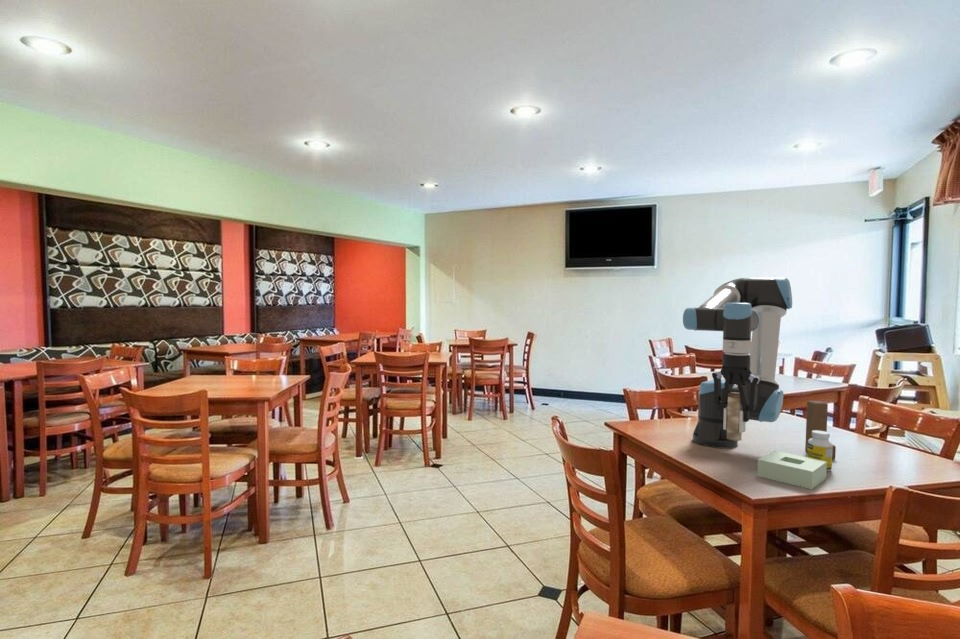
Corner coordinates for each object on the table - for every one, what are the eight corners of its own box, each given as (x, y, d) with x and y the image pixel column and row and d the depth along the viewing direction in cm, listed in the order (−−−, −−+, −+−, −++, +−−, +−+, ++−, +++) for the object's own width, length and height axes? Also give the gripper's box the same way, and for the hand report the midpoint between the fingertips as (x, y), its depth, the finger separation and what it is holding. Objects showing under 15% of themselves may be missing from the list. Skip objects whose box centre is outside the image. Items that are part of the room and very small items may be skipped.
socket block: (757, 475, 148) (758, 459, 148) (773, 466, 158) (774, 450, 157) (812, 489, 138) (812, 471, 138) (826, 478, 147) (826, 461, 147)
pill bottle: (802, 465, 159) (803, 429, 159) (822, 465, 159) (824, 429, 159) (815, 471, 153) (816, 434, 153) (836, 472, 153) (838, 435, 152)
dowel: (724, 438, 151) (725, 393, 150) (729, 436, 154) (730, 391, 153) (738, 441, 148) (739, 395, 147) (743, 439, 151) (745, 393, 150)
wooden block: (835, 459, 166) (837, 406, 165) (822, 459, 166) (824, 405, 165) (817, 451, 175) (819, 400, 174) (804, 451, 175) (806, 400, 174)
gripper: (702, 352, 153) (700, 426, 155) (762, 357, 141) (760, 438, 142) (713, 350, 158) (711, 422, 160) (771, 355, 146) (769, 433, 147)
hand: (734, 430), depth 151 cm, fingers closed on dowel, 4 cm apart
